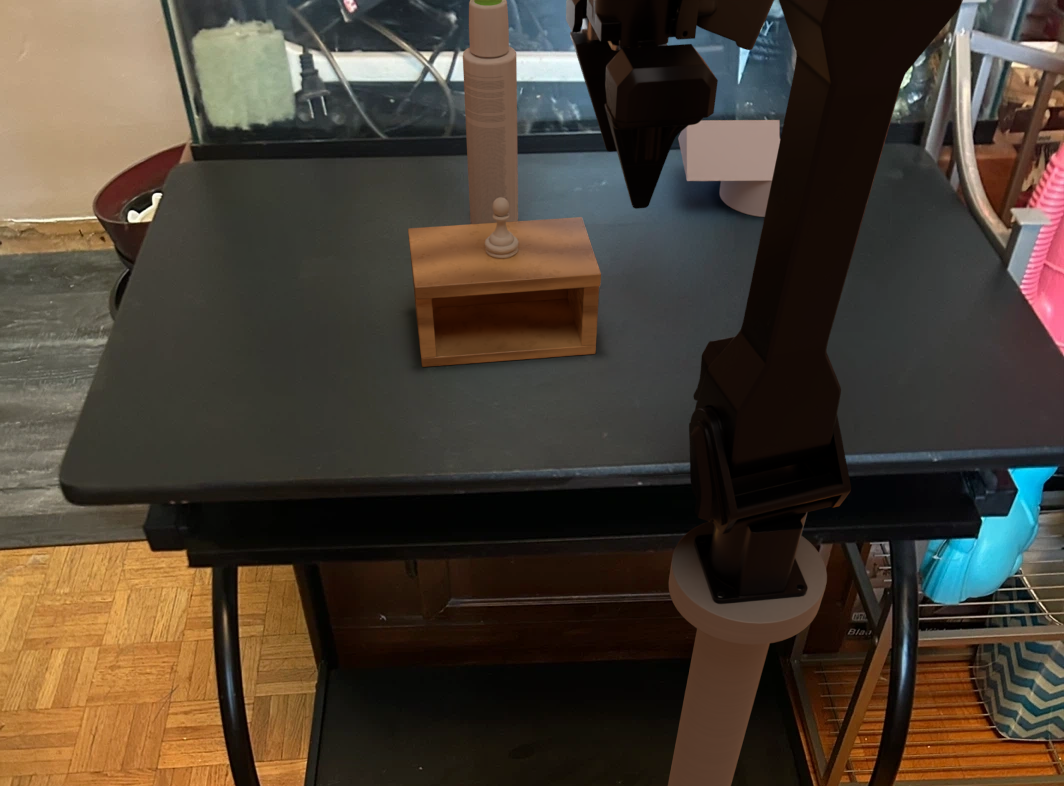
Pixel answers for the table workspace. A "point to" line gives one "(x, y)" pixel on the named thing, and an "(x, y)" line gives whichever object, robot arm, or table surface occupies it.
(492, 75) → the bottle
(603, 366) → the table surface
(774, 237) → the robot arm
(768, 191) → the wedge on round base
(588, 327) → the shelf
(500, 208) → the pawn
